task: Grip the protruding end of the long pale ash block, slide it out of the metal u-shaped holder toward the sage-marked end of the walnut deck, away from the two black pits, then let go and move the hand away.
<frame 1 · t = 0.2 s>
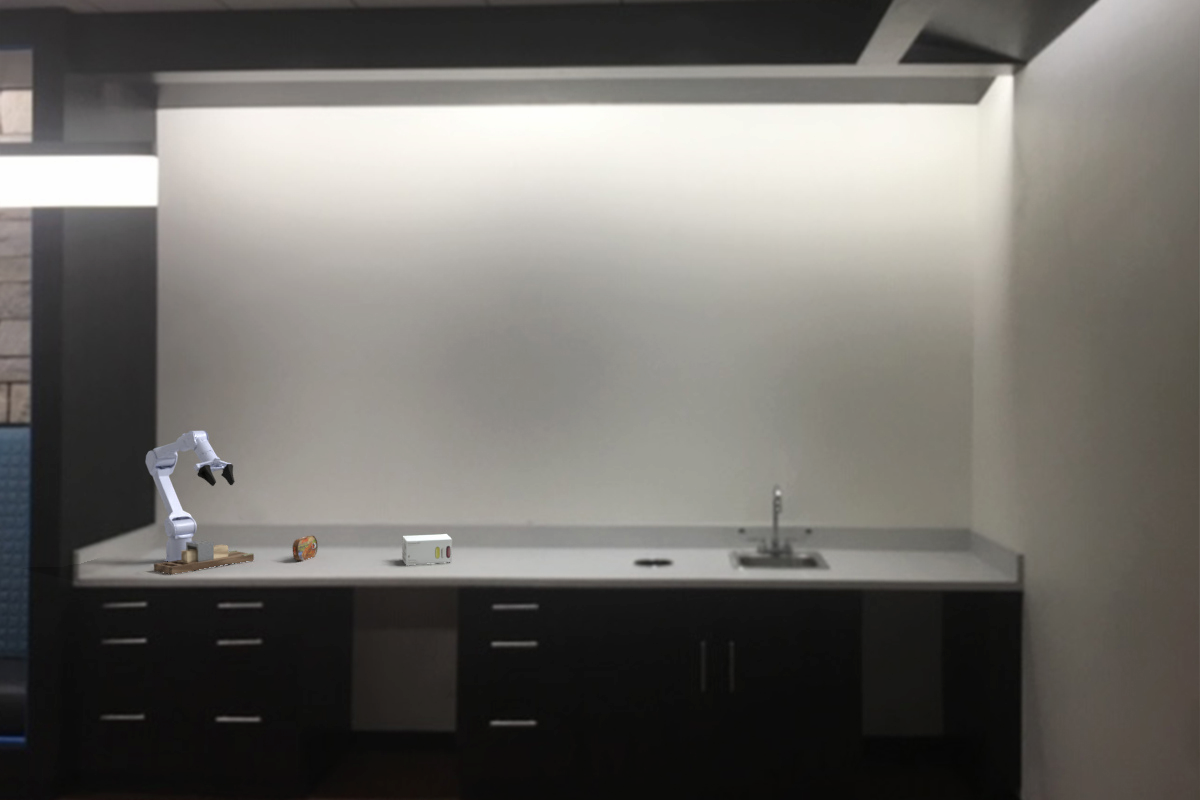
hand: (223, 483, 348), 31 cm above the counter, tool tilted 45°, fingers open, 7 cm apart
walnut deck: (205, 565, 355), on the counter
tin: (305, 559, 368), on the counter
ash block: (205, 559, 355), point 2 cm above the counter, touching walnut deck
metal u-shaped holder: (200, 566, 353), resting on walnut deck
supplement box: (427, 562, 361), on the counter
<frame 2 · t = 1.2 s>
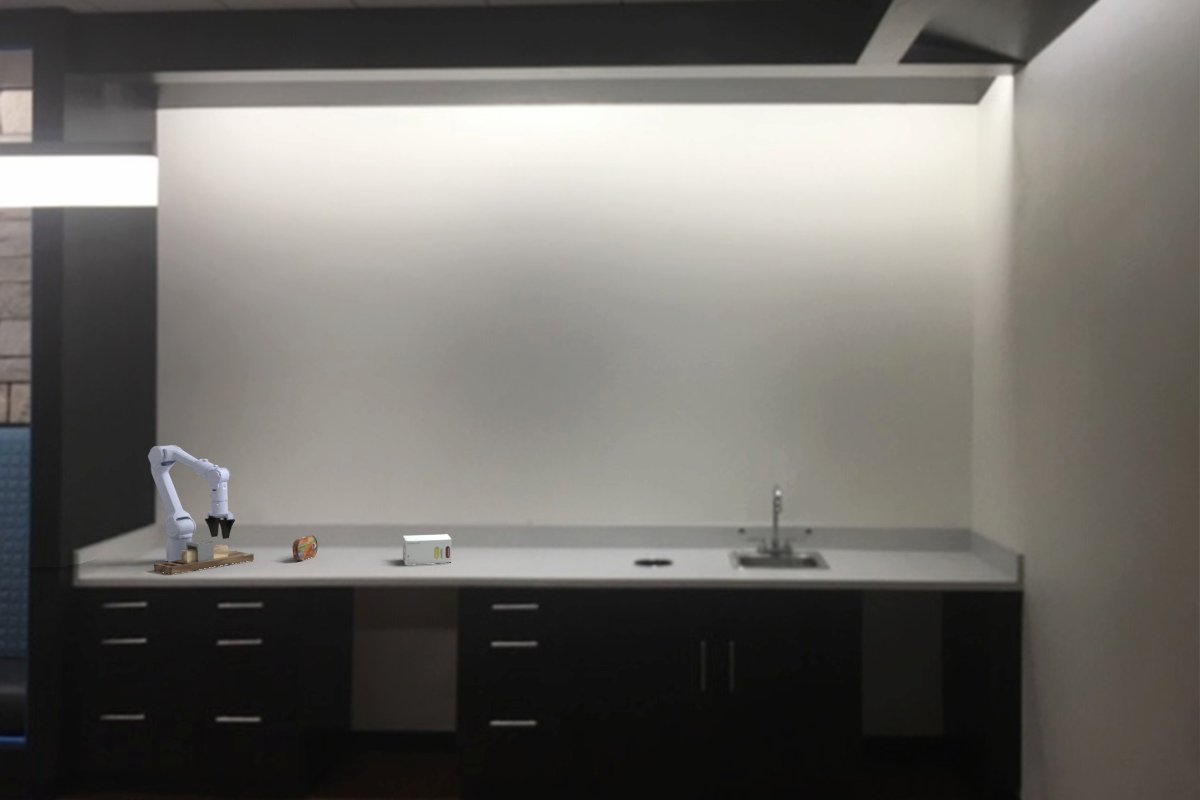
hand: (220, 537, 359), 10 cm above the counter, tool pointing down, fingers open, 7 cm apart
nothing on the counter moved.
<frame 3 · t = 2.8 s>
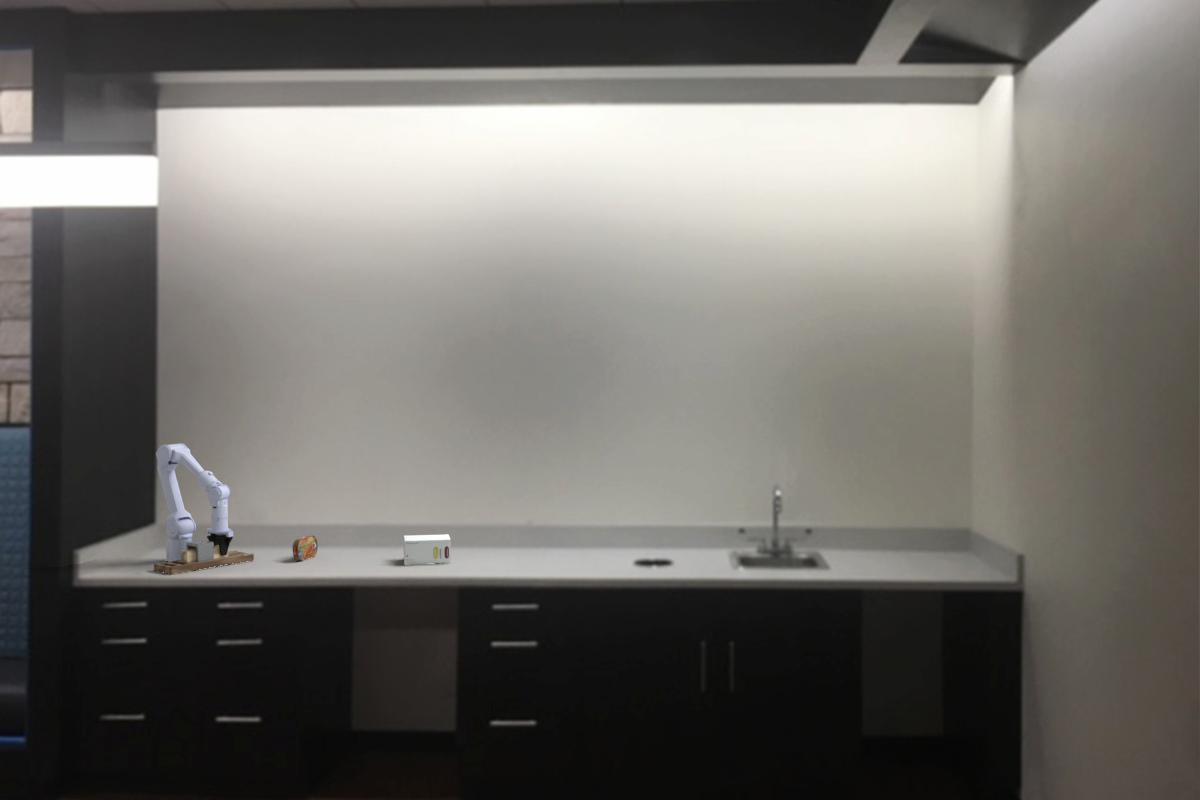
hand: (220, 554, 359), 3 cm above the counter, tool pointing down, fingers closed on ash block, 4 cm apart
ash block: (205, 559, 355), point 2 cm above the counter, touching gripper, walnut deck
everything else where it was.
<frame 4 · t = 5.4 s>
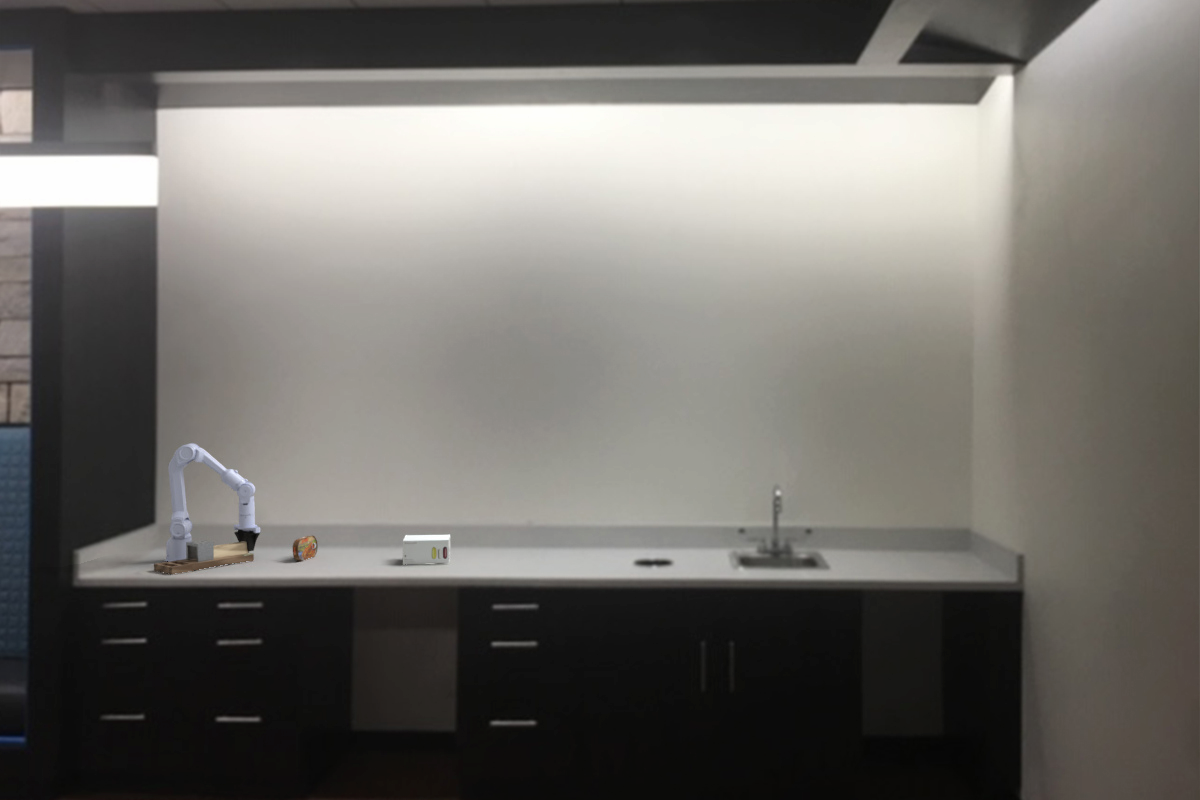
hand: (247, 550, 368), 3 cm above the counter, tool pointing down, fingers closed on ash block, 4 cm apart
ash block: (226, 555, 362), point 3 cm above the counter, touching gripper
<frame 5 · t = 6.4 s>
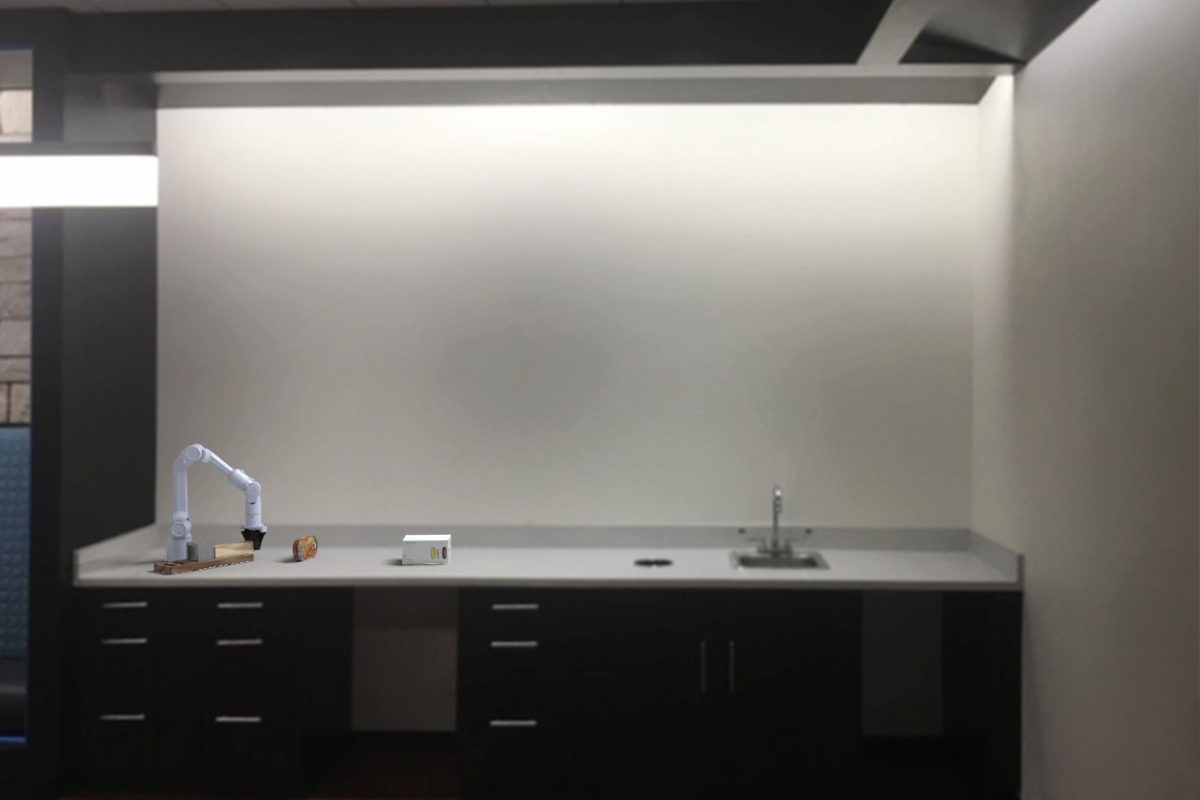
hand: (253, 549, 371), 3 cm above the counter, tool pointing down, fingers closed on ash block, 4 cm apart
ash block: (232, 554, 363), point 3 cm above the counter, touching gripper, walnut deck
when the fingers open (3 cm above the counter, at t = 7.2 s): ash block stays where it is, resting on walnut deck.
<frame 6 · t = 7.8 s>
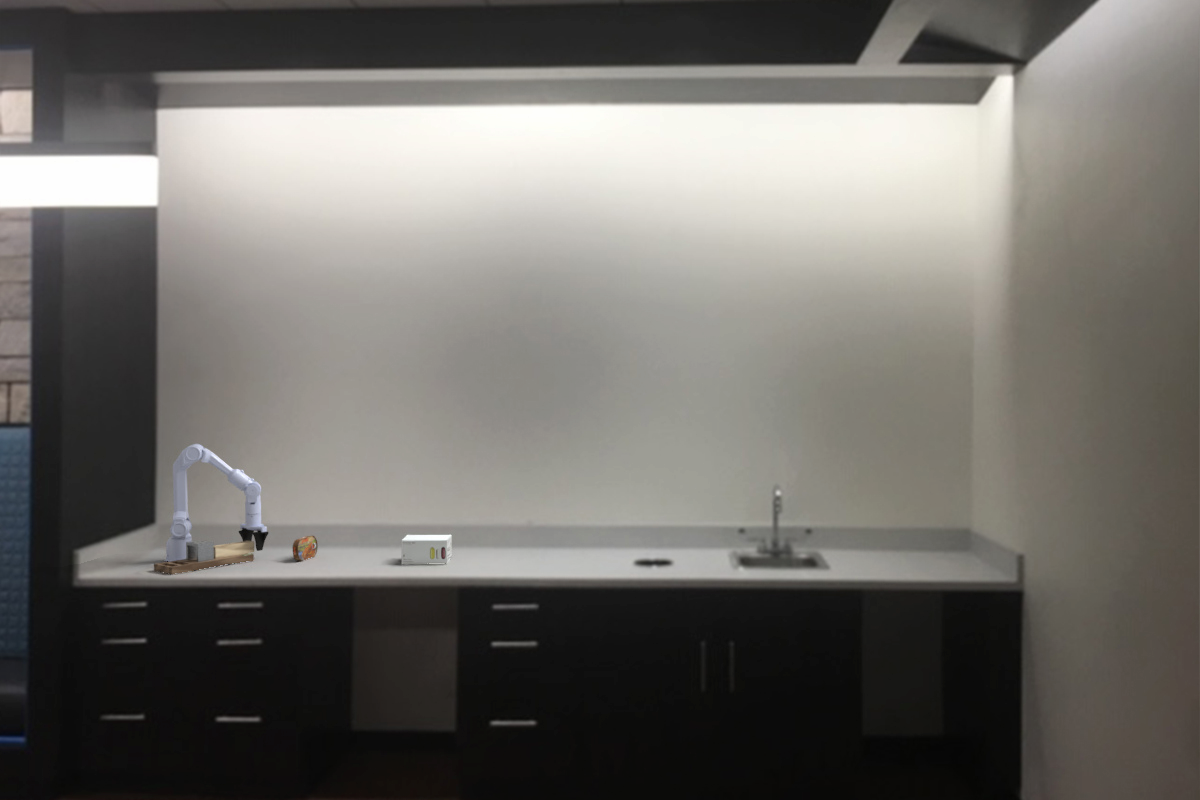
hand: (253, 549, 371), 3 cm above the counter, tool pointing down, fingers open, 7 cm apart
ash block: (232, 554, 363), point 2 cm above the counter, touching walnut deck
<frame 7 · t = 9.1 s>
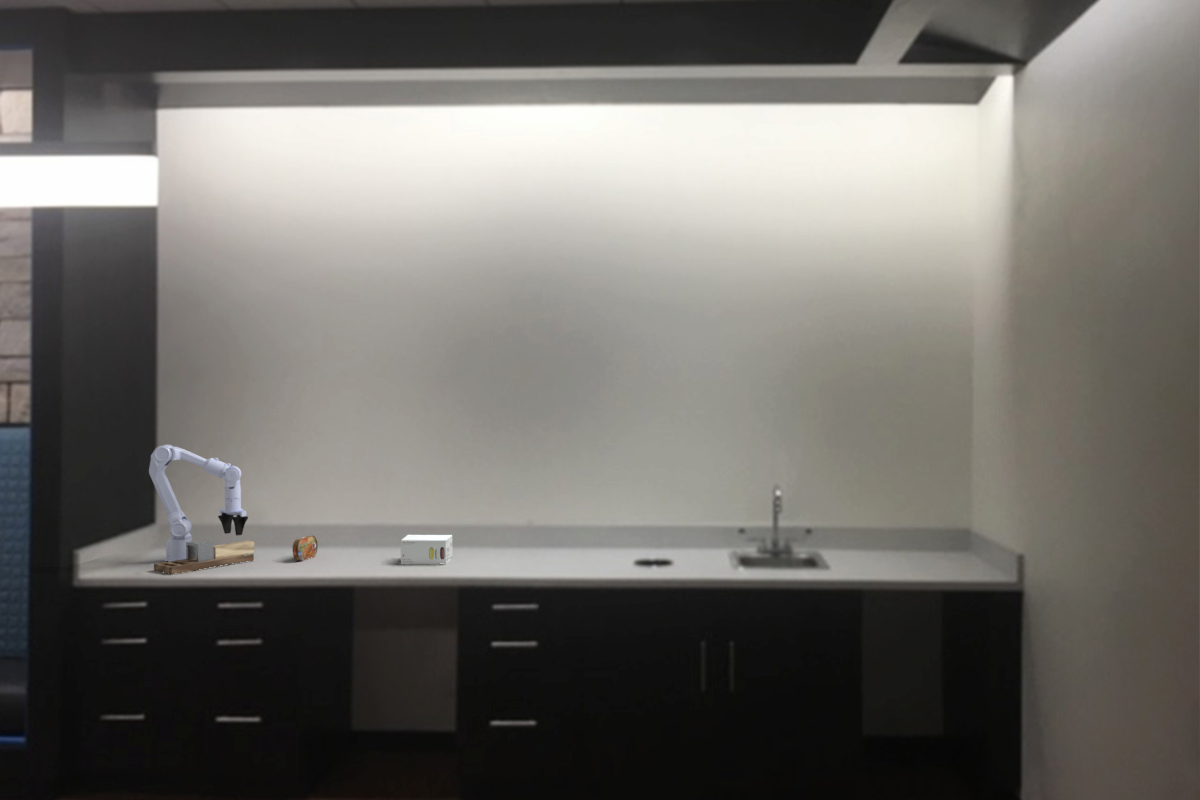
hand: (233, 534, 368), 9 cm above the counter, tool pointing down, fingers open, 7 cm apart
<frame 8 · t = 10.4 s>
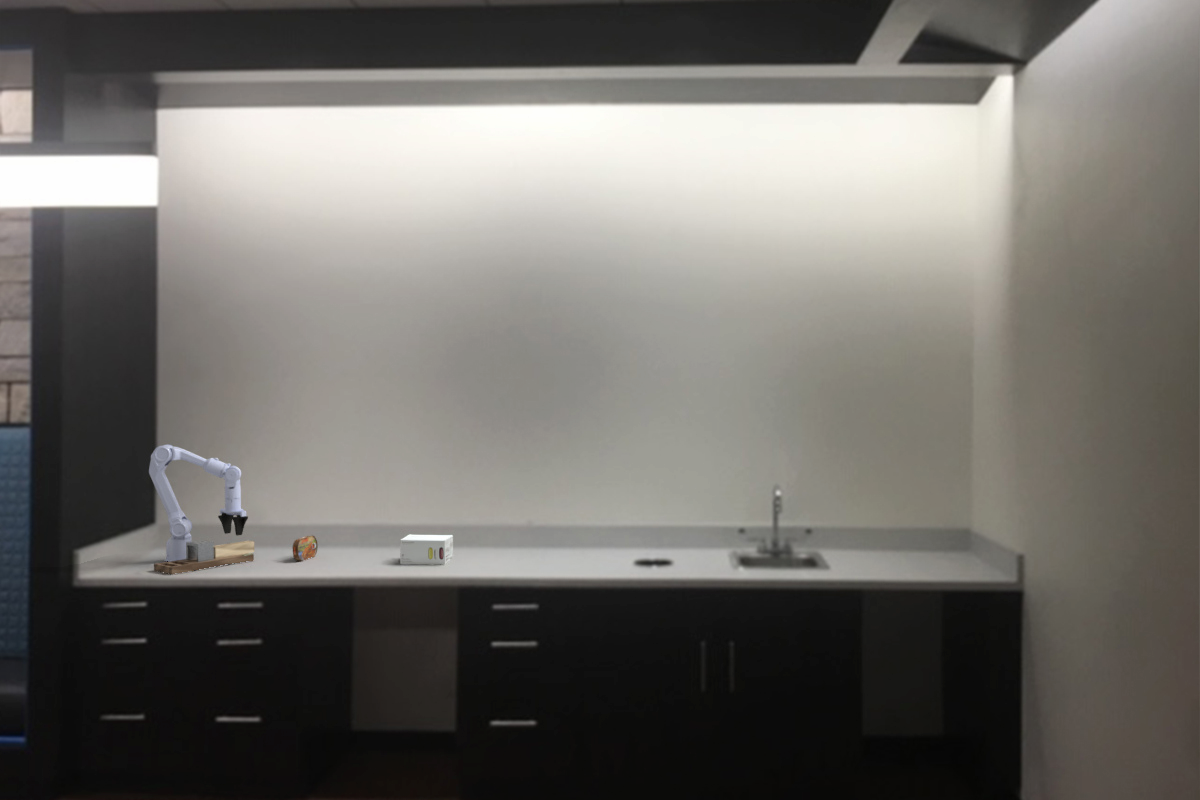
hand: (233, 534, 368), 9 cm above the counter, tool pointing down, fingers open, 7 cm apart
at the end: ash block 1.8 cm from the target spot, point 2.5 cm above the counter; ash block tilted 0°; the gripper is holding nothing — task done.
